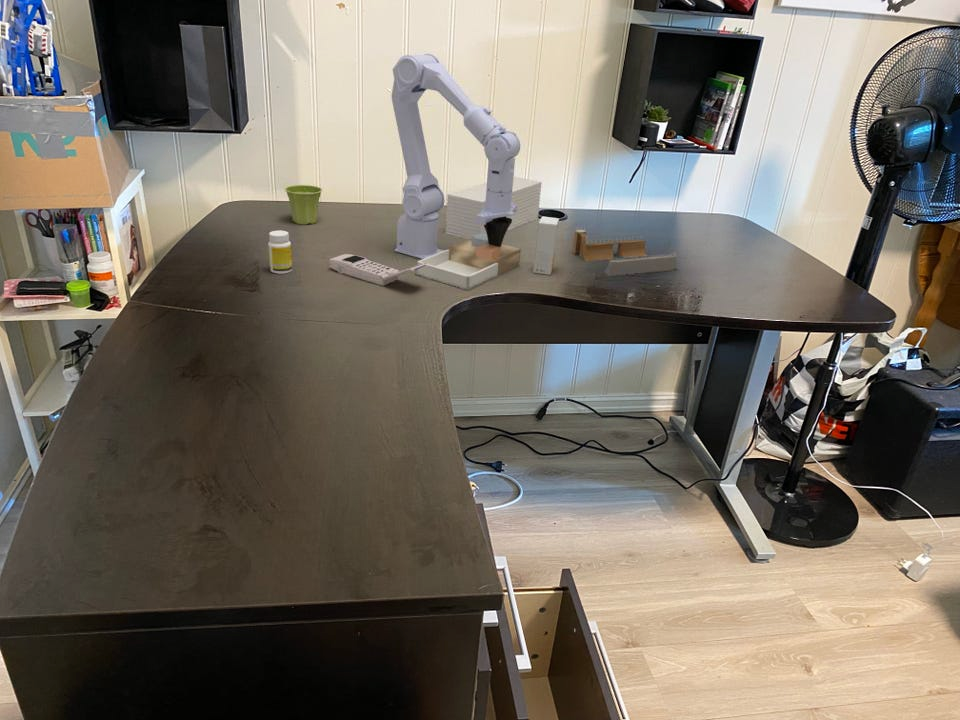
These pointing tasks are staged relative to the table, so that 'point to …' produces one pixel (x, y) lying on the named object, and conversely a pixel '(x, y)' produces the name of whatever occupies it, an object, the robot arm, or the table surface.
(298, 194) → the plant pot
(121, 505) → the table surface
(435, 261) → the white tray
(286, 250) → the supplement bottle
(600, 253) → the skate ramp
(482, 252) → the terracotta tile
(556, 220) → the skincare box
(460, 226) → the stack of papers
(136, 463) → the table surface
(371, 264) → the mobile phone
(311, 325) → the table surface
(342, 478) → the table surface
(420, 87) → the robot arm
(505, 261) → the oak block
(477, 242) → the blue tile
